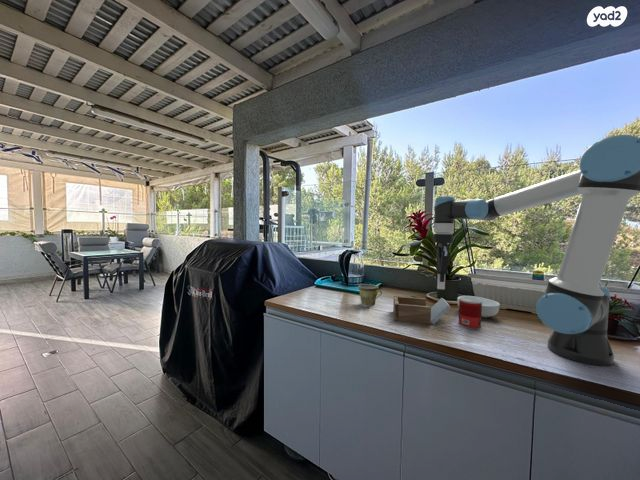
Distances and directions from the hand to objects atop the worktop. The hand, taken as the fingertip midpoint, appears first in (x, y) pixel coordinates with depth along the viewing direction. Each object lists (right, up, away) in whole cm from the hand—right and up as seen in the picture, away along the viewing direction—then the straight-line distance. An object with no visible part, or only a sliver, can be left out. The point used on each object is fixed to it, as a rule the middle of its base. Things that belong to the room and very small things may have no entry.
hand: (440, 288), depth 110 cm
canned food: (+10, -15, -3) cm, 18 cm away
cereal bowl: (+22, -15, +10) cm, 28 cm away
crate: (-12, -14, +3) cm, 19 cm away
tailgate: (-1, -10, 0) cm, 10 cm away
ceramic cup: (-26, -13, +22) cm, 36 cm away
